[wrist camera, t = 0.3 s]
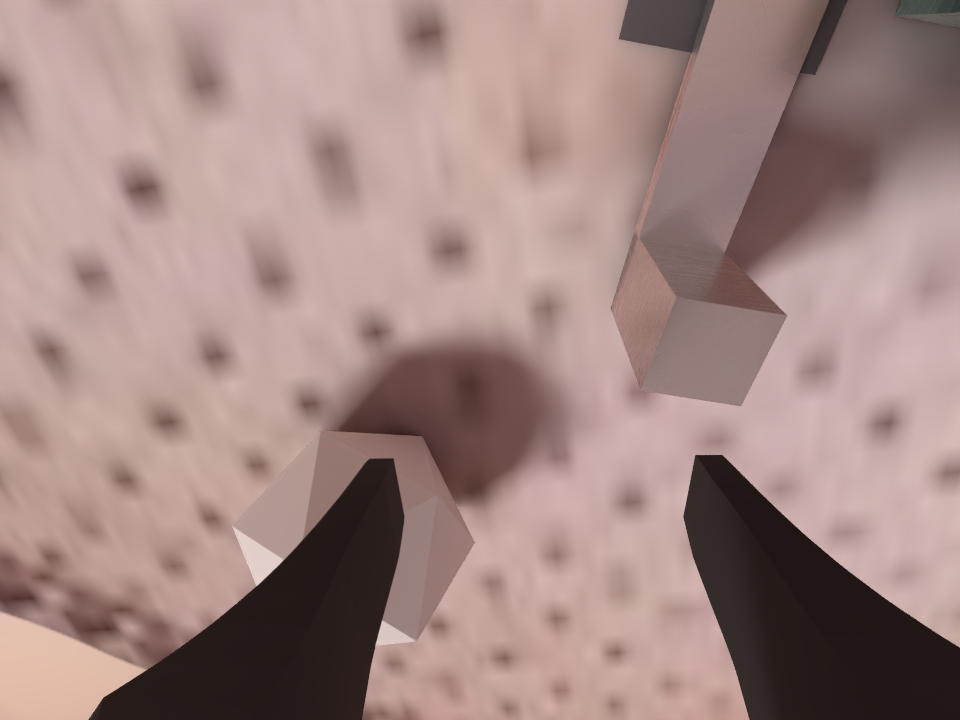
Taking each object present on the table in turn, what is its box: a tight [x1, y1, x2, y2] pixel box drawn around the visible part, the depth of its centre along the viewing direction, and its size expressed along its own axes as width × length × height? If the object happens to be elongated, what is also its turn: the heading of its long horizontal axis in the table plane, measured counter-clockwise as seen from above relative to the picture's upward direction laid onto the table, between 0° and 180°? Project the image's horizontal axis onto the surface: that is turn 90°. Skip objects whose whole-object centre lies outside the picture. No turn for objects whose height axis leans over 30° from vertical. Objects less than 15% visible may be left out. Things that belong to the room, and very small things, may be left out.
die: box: [232, 431, 475, 646], centre depth 22 cm, size 8×9×10 cm
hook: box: [611, 0, 960, 406], centre depth 14 cm, size 10×15×6 cm
